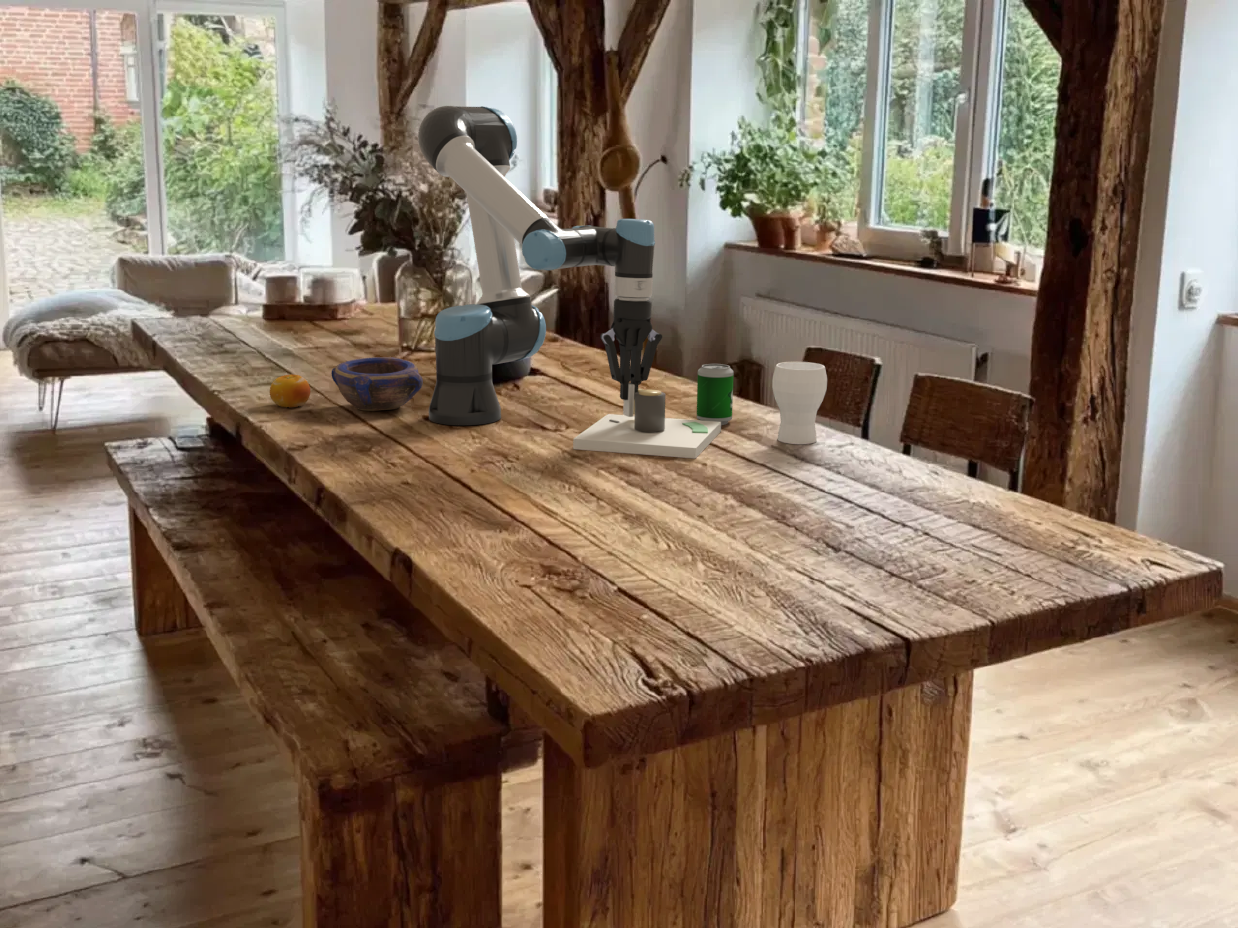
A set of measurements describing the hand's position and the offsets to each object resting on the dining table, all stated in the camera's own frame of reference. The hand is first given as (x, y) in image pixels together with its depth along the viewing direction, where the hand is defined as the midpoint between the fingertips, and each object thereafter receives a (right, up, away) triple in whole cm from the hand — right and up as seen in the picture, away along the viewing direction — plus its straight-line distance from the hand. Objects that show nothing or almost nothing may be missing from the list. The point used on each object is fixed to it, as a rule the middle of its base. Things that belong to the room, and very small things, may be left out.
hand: (628, 415), depth 259 cm
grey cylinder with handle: (+3, -2, -2) cm, 4 cm away
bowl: (-55, +2, +22) cm, 59 cm away
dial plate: (+4, -5, -5) cm, 8 cm away
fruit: (-74, +3, +23) cm, 77 cm away
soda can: (+18, -1, +11) cm, 21 cm away
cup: (+34, -5, -4) cm, 34 cm away
